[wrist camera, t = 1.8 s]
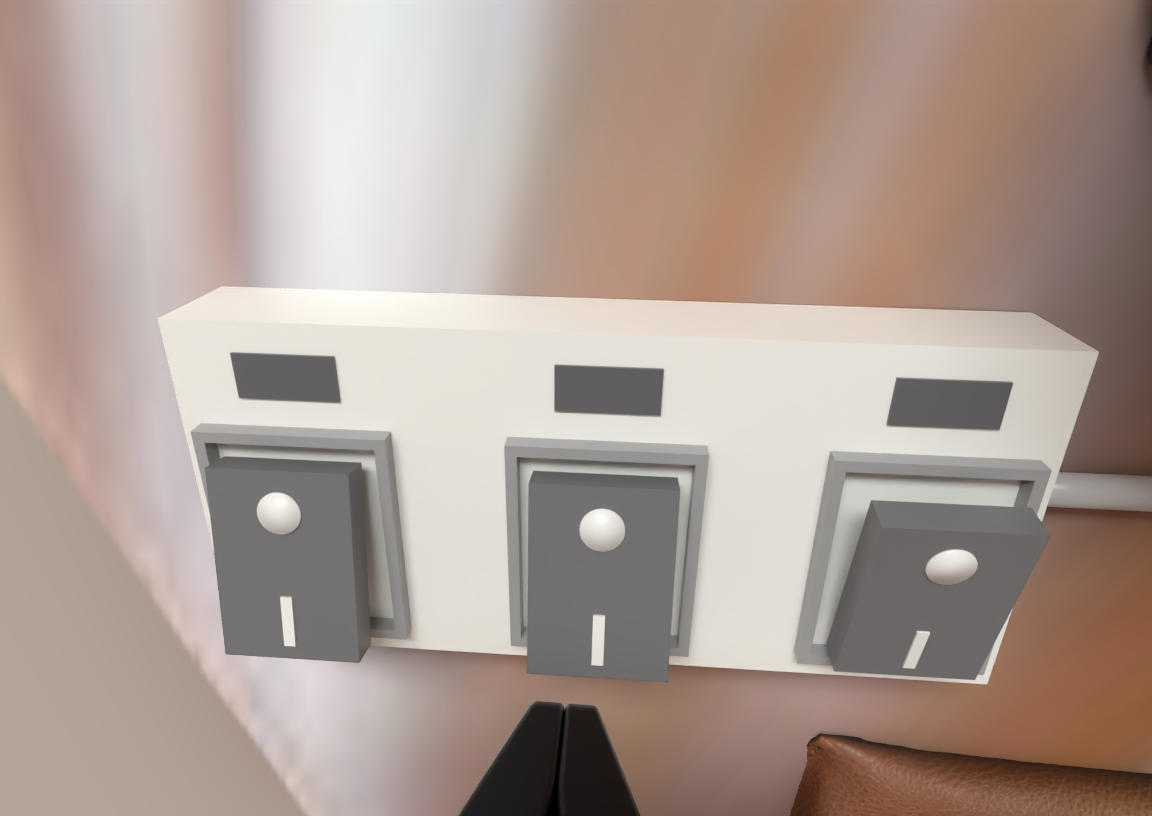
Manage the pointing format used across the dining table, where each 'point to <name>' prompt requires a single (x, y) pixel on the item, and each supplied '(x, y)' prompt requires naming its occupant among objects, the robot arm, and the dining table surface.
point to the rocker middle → (601, 574)
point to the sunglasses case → (956, 784)
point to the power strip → (636, 440)
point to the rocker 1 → (290, 557)
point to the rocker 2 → (932, 587)
